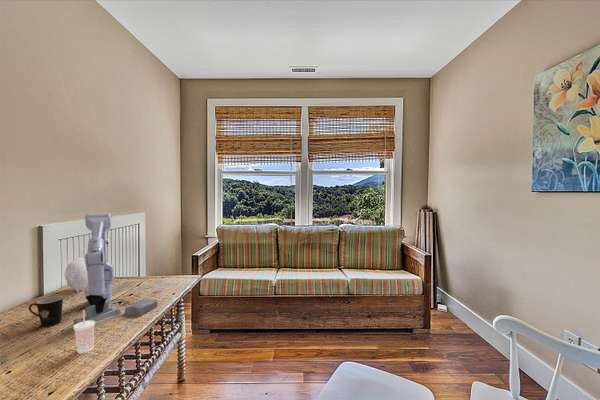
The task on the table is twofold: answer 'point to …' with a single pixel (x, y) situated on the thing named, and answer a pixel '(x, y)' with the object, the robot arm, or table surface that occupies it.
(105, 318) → the rectangular tray
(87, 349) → the beverage cup
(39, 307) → the coffee mug
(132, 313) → the stone block
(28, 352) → the table surface
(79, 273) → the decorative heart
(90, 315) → the door panel
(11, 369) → the table surface
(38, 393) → the table surface
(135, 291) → the table surface
